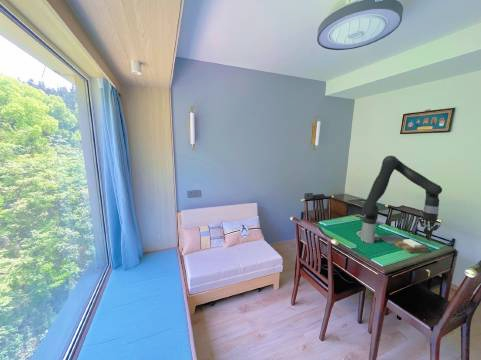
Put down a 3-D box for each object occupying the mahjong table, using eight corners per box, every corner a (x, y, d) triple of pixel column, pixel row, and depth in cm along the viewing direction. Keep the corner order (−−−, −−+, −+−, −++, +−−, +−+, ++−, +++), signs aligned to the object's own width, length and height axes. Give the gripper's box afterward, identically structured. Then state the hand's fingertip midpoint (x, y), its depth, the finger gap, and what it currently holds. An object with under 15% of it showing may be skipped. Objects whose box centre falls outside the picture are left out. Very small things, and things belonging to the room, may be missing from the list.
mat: (376, 236, 173) (376, 236, 173) (397, 235, 174) (397, 235, 174) (389, 243, 159) (389, 243, 159) (411, 242, 160) (411, 242, 160)
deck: (394, 244, 158) (394, 240, 157) (410, 243, 159) (410, 239, 158) (410, 253, 144) (411, 248, 143) (427, 252, 145) (428, 247, 144)
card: (403, 241, 154) (403, 239, 154) (410, 241, 154) (410, 239, 154) (414, 247, 145) (414, 244, 145) (421, 247, 145) (421, 244, 145)
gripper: (416, 208, 142) (413, 230, 144) (436, 214, 128) (432, 239, 131) (425, 208, 142) (422, 230, 145) (446, 214, 129) (442, 238, 131)
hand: (427, 234), depth 138 cm, fingers closed
